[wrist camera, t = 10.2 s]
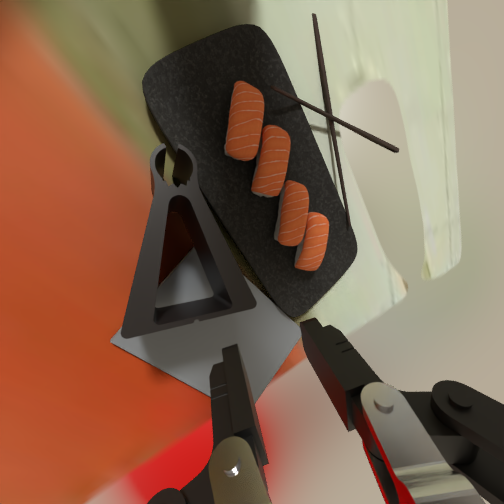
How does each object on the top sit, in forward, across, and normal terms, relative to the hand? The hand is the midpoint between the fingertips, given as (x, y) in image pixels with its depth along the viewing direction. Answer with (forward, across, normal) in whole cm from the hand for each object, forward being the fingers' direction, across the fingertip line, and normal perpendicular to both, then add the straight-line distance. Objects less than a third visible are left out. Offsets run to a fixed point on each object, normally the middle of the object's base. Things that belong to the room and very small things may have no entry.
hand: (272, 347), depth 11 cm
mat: (+13, +3, +9) cm, 16 cm away
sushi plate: (+21, -13, -5) cm, 26 cm away
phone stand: (+8, +5, +3) cm, 10 cm away
